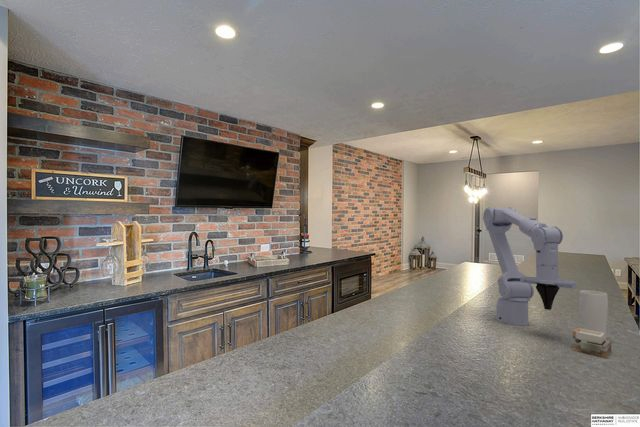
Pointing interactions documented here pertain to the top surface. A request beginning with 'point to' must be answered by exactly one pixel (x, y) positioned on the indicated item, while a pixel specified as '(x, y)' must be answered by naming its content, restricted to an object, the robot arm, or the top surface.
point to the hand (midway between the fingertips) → (548, 309)
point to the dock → (594, 348)
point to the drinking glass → (594, 310)
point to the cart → (588, 336)
